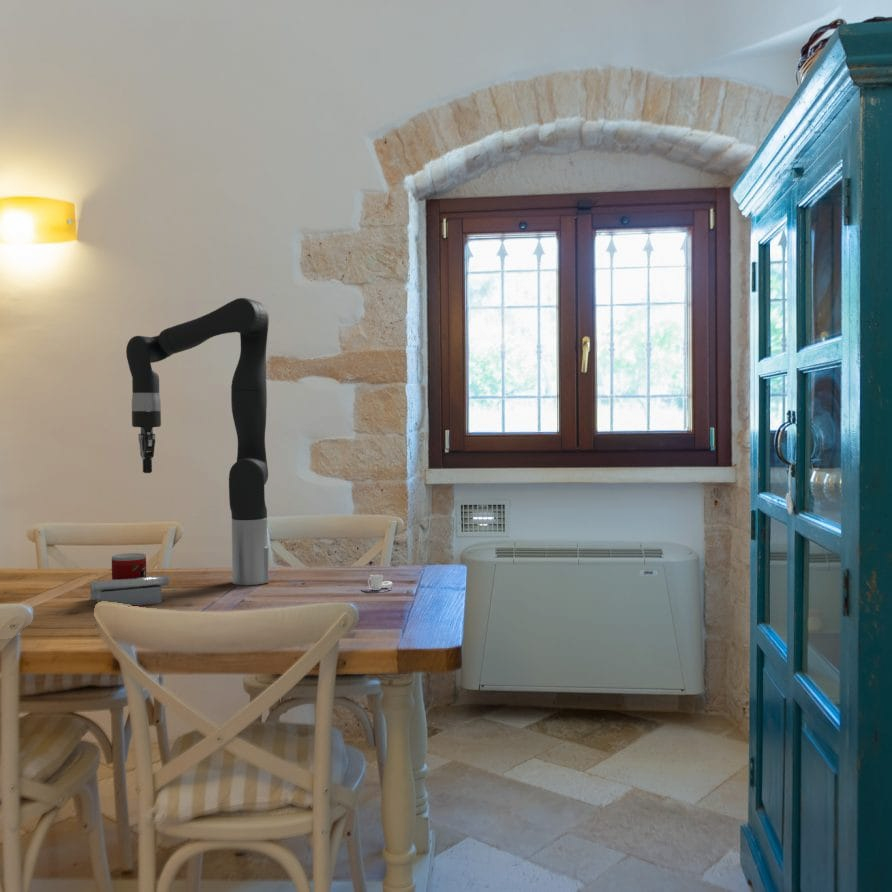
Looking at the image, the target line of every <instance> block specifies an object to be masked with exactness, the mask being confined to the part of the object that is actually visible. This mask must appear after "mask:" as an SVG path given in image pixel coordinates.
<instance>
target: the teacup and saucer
mask: <svg viewBox="0 0 892 892" xmlns="http://www.w3.org/2000/svg"><path fill="white" fill-rule="evenodd" d="M383 579H384V576H383V574H377V573H376V574H370V577H369V578H368V579H367V585H368V587H370V588H369V589H371V590H372V589H381V588H382V587H390V588H392V587H393V582H392V581H390V580H384V581H383ZM391 586H392V587H391ZM381 590H382V589H381Z"/></svg>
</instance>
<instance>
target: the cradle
mask: <svg viewBox="0 0 892 892" xmlns="http://www.w3.org/2000/svg"><path fill="white" fill-rule="evenodd" d="M169 580H170V579H169V575H168V574H166V575H153V576H146V577H140V578H128V579H117V580H112V579H106V580H105V579H104V580H96V581H95V580H94V581H91V582H90V586H89V587H90V588H89V589H90V600H91V601H96V602H101V601H108V602H117V603H123V604H130V605H138V606H146V605H147V606H149V605H157V604H159V605H160V604H162V601H163V600H162V587H163V586H164V587H165V586H169V584H170V581H169Z"/></svg>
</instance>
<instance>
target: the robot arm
mask: <svg viewBox="0 0 892 892" xmlns="http://www.w3.org/2000/svg"><path fill="white" fill-rule="evenodd" d="M269 323H270V318H269V312H268V309H267V308H266V306H265V305H264V304H263V303H262V302H260V301H257V300H253V299H250V298H246V297H238V298H235V299H233V300H231V301H230V302H228V303H225V304H224V305H222V306H221V307H219V308H216V309H215V310H213V311H211V312H209V313H207V314H205V315H202V316H200V317H197V318H195V319H192V320H188V321H186V322H183V323H179V324H176V325H173V326H171V327H168V328H165V329H163V330H162V331H161V332H159V334H158V335H155V336H145V335H143V336H142V335H135V336H133V337H131V338H130V339H129V340H128V341H127V344H126V348H125V349H126V350H125V353H126V355H125V356H126V360H127V364H128V367H129V372H130V374H131V378H132V383H131V385H132V386H131V387H132V389H131V390H132V395H131V427H132V428H140V433H138V436H137V438H138V444H139V451H140V453H139V454H140V459H142V473H144V474H151V473H152V472H153V461H152V460H153V459H154V457H155V445H156V433H154V428H159V427H161V426H162V417H161V414H162V413H161V411H162V410H161V409H162V406H161V396H160V376H159V374H158V373H157V372H156V371H154V370H153V368H152V364H153V363H159V362H161V361H164V360H166V359H167V358H169V357H171V356H172V355H175V354H177V353H181V352H184V351H187V350H190V349H194V348H195V347H198V346H199V345H201V344H203V343H205V342H206V341H208V340H209V339H213V337H216V336H221V335H224V334H232V333H239V338H240V354H239V358H238V361H237V362H238V363H236V368H235V371H234V373H233V376H232V381H231V386H230V389H231V390H230V394H231V395H230V397H231V399H230V401H231V402H230V403H231V406H230V407H231V414H232V417H233V418H232V419H233V423H234V427H235V431H236V436H237V437H236V438H237V453H236V454H237V455H236V462H235V463H234V464H233V465H232V466H231V467H230V470H229V473H228V494H229V497H228V500H229V509H230V513H231V559H232V560H231V561H232V562H231V565H232V567H231V568H232V569H231V570H232V574H231V575H232V576H231V577H232V584H233V585H237V586H256V585H263V584H269V583H270V574H269V573H270V572H269V567H270V566H269V564H270V563H269V546H268V510H267V506H266V498H265V497H266V496H265V492H266V491H265V485H266V484H267V482H268V480H269V479H268V478H269V468H268V467H269V466H268V460H267V451H266V427H267V408H268V407H267V405H268V402H267V401H268V400H267V399H268V397H267V395H268V393H267V344H268V332H269Z"/></svg>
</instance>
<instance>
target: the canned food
mask: <svg viewBox="0 0 892 892" xmlns="http://www.w3.org/2000/svg"><path fill="white" fill-rule="evenodd" d="M146 555H147V554H145V553H139V552H131V553H130V552H129V553H118V554H114V555H112V556H111V580H117V579H128V578H140V577H147V556H146Z"/></svg>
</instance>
